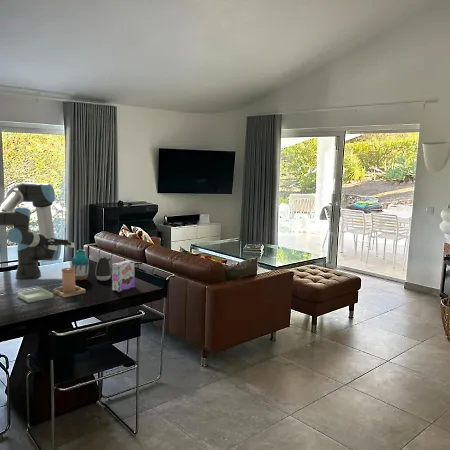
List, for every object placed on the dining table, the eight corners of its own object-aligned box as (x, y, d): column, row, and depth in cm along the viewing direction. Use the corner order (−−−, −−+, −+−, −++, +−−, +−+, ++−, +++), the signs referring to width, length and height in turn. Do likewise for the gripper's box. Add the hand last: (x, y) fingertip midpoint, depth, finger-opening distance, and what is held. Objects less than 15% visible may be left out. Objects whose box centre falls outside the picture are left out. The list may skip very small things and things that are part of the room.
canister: (59, 292, 263) (59, 269, 261) (72, 290, 268) (71, 267, 266) (66, 295, 258) (65, 271, 256) (78, 292, 263) (77, 269, 261)
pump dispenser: (107, 282, 287) (107, 259, 284) (92, 281, 289) (92, 258, 287) (114, 278, 297) (114, 255, 294) (100, 277, 299) (99, 254, 296)
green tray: (17, 297, 253) (17, 292, 252) (42, 292, 263) (42, 288, 262) (28, 302, 243) (28, 298, 243) (53, 297, 253) (53, 293, 253)
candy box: (118, 292, 266) (118, 265, 264) (111, 290, 269) (111, 263, 267) (135, 287, 278) (135, 260, 275) (128, 285, 281) (128, 259, 278)
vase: (75, 283, 283) (77, 254, 279) (67, 277, 290) (69, 249, 286) (90, 280, 291) (92, 252, 286) (82, 275, 298) (84, 247, 293)
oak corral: (52, 292, 263) (52, 289, 262) (74, 288, 272) (74, 284, 272) (63, 297, 253) (63, 294, 253) (85, 292, 263) (85, 289, 263)
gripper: (19, 249, 252) (49, 255, 270) (51, 243, 241) (80, 250, 259) (20, 236, 254) (50, 243, 272) (52, 230, 243) (81, 237, 261)
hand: (65, 246), depth 266 cm, fingers open, 13 cm apart
